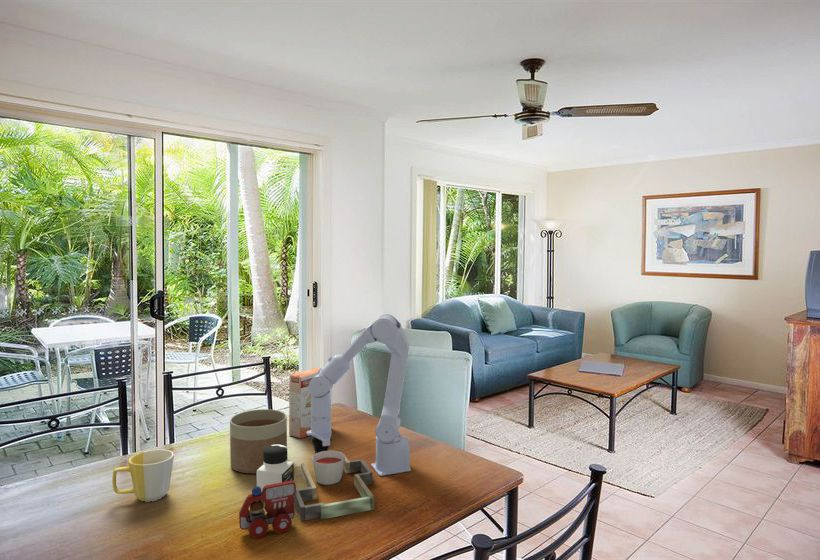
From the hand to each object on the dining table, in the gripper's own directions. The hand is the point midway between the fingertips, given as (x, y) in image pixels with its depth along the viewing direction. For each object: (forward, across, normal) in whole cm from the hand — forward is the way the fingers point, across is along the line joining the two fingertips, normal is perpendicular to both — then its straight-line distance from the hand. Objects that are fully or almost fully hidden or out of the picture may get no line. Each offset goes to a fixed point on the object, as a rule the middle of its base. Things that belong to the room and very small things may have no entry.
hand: (321, 461), depth 152 cm
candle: (+2, +10, 0) cm, 10 cm away
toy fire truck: (+2, +29, -18) cm, 34 cm away
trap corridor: (+1, +16, 0) cm, 17 cm away
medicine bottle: (+2, +12, -14) cm, 19 cm away
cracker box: (+2, -29, +2) cm, 29 cm away
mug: (+2, +3, -46) cm, 46 cm away
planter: (+2, -8, -16) cm, 18 cm away
